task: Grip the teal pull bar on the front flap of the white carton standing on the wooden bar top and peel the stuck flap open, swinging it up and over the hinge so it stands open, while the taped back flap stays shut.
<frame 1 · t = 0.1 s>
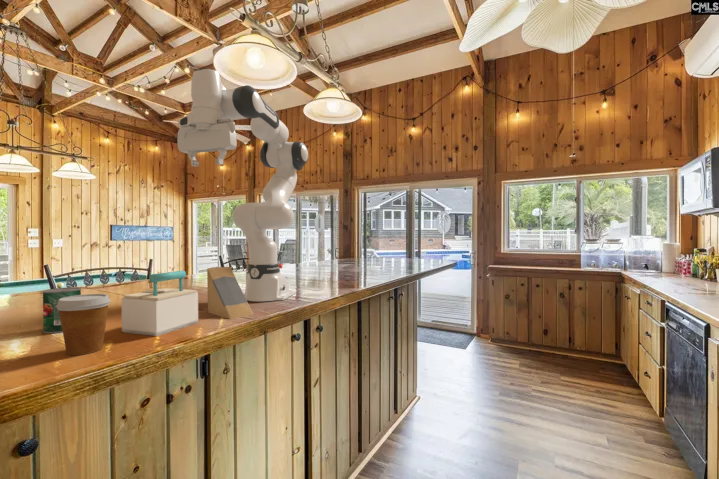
hand: (207, 165, 106), 48 cm above the table, tool pointing down, fingers open, 8 cm apart
disposable coffee cup: (85, 351, 75), on the table
front flap: (170, 283, 93), point 12 cm above the table, hinge at 0.0°
canned tomato: (62, 330, 92), on the table
white carton: (162, 327, 94), on the table
sandwich container: (230, 314, 111), on the table
back flap: (153, 292, 95), point 10 cm above the table, hinge at 0.0°
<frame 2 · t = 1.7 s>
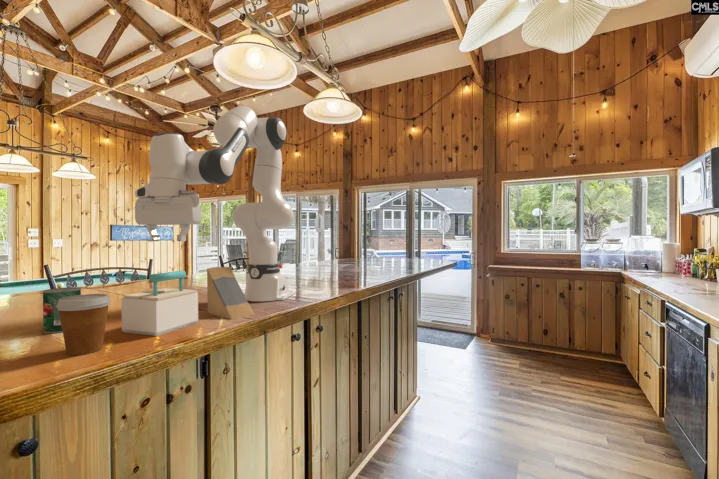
hand: (168, 241, 93), 24 cm above the table, tool pointing down, fingers open, 8 cm apart
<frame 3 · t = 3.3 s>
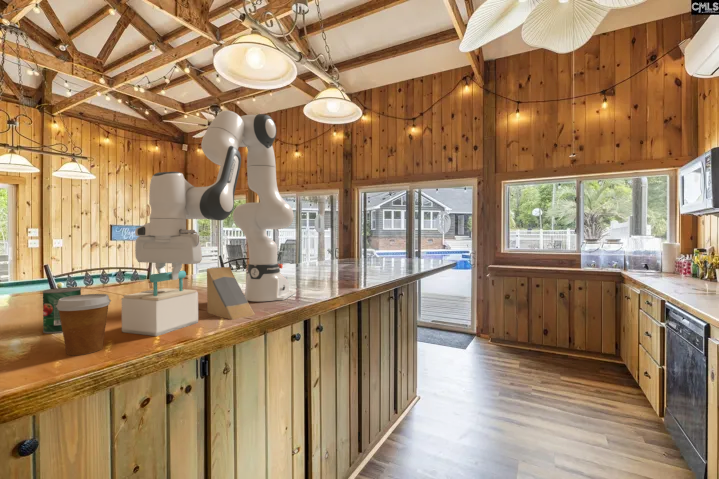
hand: (168, 279, 94), 13 cm above the table, tool pointing down, fingers closed on front flap, 2 cm apart
front flap: (170, 283, 93), point 12 cm above the table, hinge at -0.1°, touching gripper
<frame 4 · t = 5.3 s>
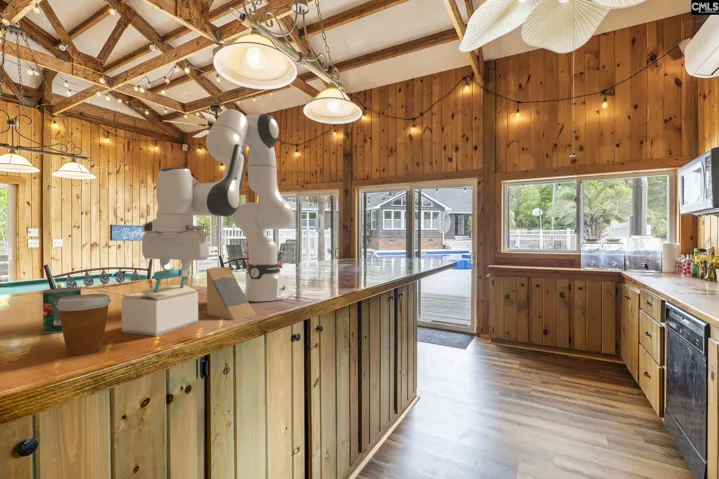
hand: (175, 275, 93), 15 cm above the table, tool pointing down, fingers open, 4 cm apart
front flap: (173, 281, 93), point 13 cm above the table, hinge at 15.8°, touching gripper
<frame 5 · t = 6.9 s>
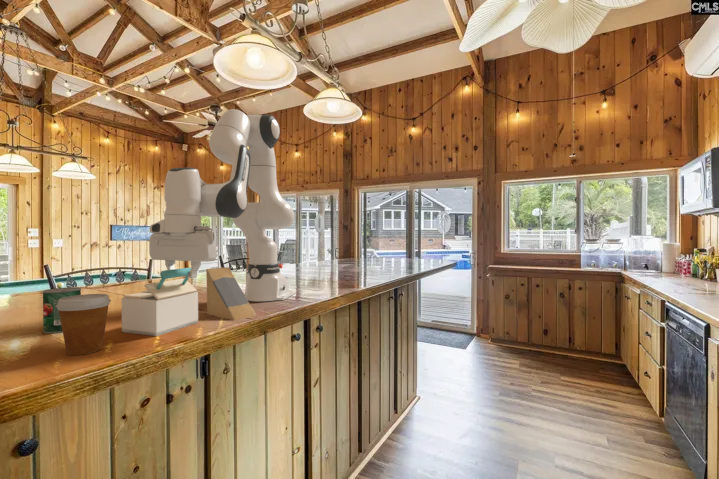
hand: (182, 277, 91), 14 cm above the table, tool pointing down, fingers open, 5 cm apart
front flap: (177, 280, 93), point 13 cm above the table, hinge at 37.4°, touching gripper
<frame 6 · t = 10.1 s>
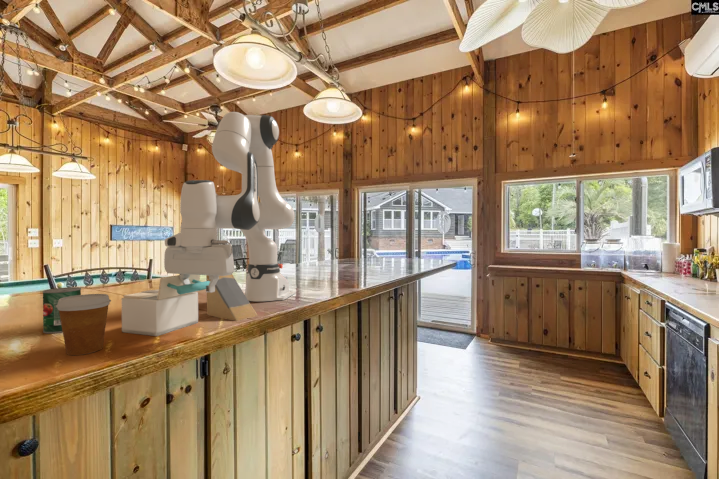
hand: (199, 291, 90), 11 cm above the table, tool pointing down, fingers open, 6 cm apart
front flap: (188, 287, 91), point 12 cm above the table, hinge at 102.2°, touching gripper
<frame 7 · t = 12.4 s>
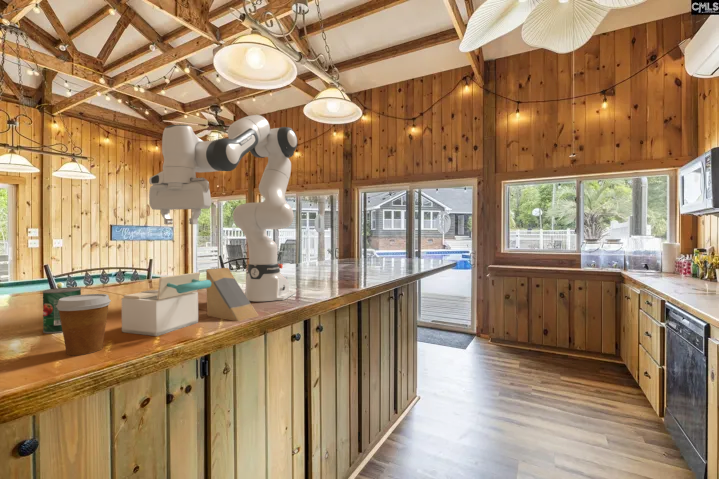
hand: (180, 224, 103), 29 cm above the table, tool pointing down, fingers open, 8 cm apart
front flap: (188, 287, 92), point 12 cm above the table, hinge at 99.2°
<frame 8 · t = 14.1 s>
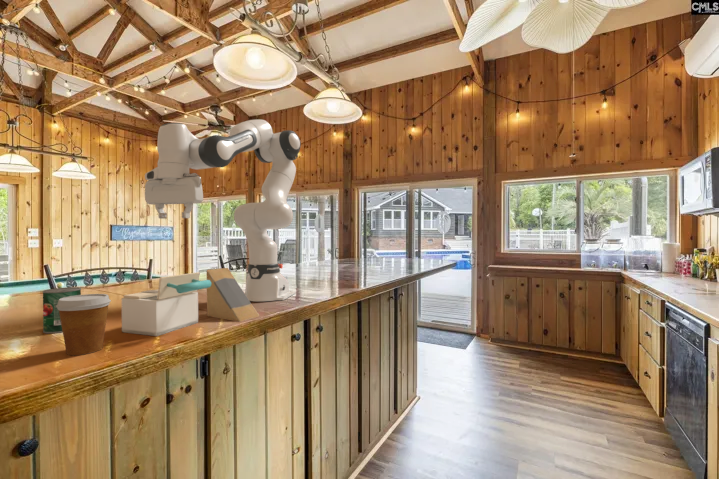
hand: (174, 218, 107), 31 cm above the table, tool pointing down, fingers open, 8 cm apart
at the end: front flap tilted 99°; the gripper is holding nothing; back flap tilted 0° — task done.
